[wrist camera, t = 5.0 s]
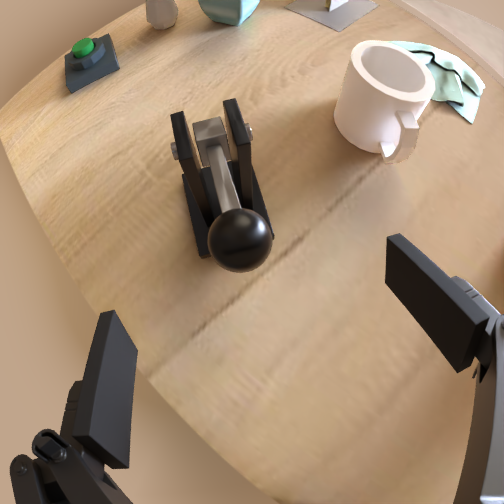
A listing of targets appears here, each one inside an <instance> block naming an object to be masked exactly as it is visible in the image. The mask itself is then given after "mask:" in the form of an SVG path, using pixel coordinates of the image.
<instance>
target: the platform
mask: <svg viewBox="0 0 504 504" xmlns="http://www.w3.org/2000/svg"><path fill="white" fill-rule="evenodd" d="M378 6H380V5H378V4H376V3H374V2H372V1H370V0H296V1H294V2H292V3H291V4H289V5H287V6H285V7H284V8H287V9H289V10H292V11H294V12H297V13H299V14H302V15H304V16H306V17H309V18H311V19H313V20H315V21H318V22H320V23H322V24H324V25H326V26H328V27H330V28H333V29H335V30H337V31H339V32H340V31H342V30H343V29H345V28H346V27H347V26H349V25H350V24H352V23H353V22H355V21H356V20H358V19H359V18H361V17H362V16H364V15H365V14H367V13H368V12H370V11H372V10H373V9H375V8H376V7H378Z"/></svg>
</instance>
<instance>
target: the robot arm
mask: <svg viewBox="0 0 504 504" xmlns="http://www.w3.org/2000/svg"><path fill="white" fill-rule="evenodd" d="M385 283H386V285H387V286H388V287H389V288H390V289H391V290H392V292H393V293H394V294H395V295H396V296H397V298H398V299H399V300H400V301H401V302H402V304H403V305H404V306H405V307H406V308H407V310H408V311H409V312H410V313H411V315H412V316H413V317H414V318H415V319H416V321H417V322H418V323H419V324H420V326H421V327H422V328H423V329H424V331H425V332H426V333H427V334H428V336H429V337H430V338H431V340H432V341H433V342H434V343H435V345H436V346H437V347H438V349H439V350H440V351H441V353H442V354H443V355H444V356H445V358H446V359H447V360H448V362H449V363H450V364H451V366H452V367H453V368H454V370H455V371H456V373H459V372H461V371H463V370H464V369H466V368H468V367H469V366H471V364H472V362H473V359H474V357H476V358H477V359H478V360H479V363H478V365H477V367H476V369H475V371H474V373H473V376H472V378H475V376H476V374H477V377H476V389H475V399H474V407H473V415H472V422H471V428H470V434H469V440H468V445H467V450H466V455H465V460H464V464H463V469H462V473H461V477H460V481H459V485H458V489H457V492H456V496H455V499H454V502H453V504H504V314H503V315H501V314H500V313H499V312H498V311H497V310H496V309H495V308H494V307H493V306H492V305H491V304H490V303H489V302H488V301H487V300H486V299H485V298H484V297H483V296H482V295H480V294H479V292H478V291H476V290H475V289H474V288H473V287H472V286H471V285H470V284H469V283H468V282H467V281H466V280H464V279H461V278H459V277H457V276H454V277H452V278H450V277H449V276H448V275H447V274H446V273H444V272H443V271H442V270H441V269H440V268H439V267H438V266H437V265H436V264H435V263H434V262H432V261H431V260H430V259H429V258H428V257H427V256H426V255H425V254H423V253H422V252H421V251H420V250H419V249H418V248H417V247H415V246H414V245H413V244H412V243H411V242H410V241H408V240H407V239H406V238H405V237H404V236H402V235H401V234H400V233H398V234H395V235H392V236H388V237H387V247H386V274H385ZM137 354H138V350H137V348H136V346H135V345H134V343H133V341H132V340H131V338H130V336H129V335H128V333H127V331H126V329H125V328H124V326H123V324H122V323H121V321H120V319H119V317H118V315H117V314H116V312H115V310H111V311H107V312H103V313H100V316H99V320H98V323H97V327H96V330H95V334H94V337H93V341H92V345H91V348H90V352H89V356H88V360H87V364H86V368H85V372H84V376H83V380H82V381H75V383H74V384H73V386H72V387H71V389H70V391H69V394H68V398H67V404H66V407H65V410H66V411H65V412H64V416H63V421H62V426H61V431H60V435H58V434H57V433H56V432H55V431H54V430H51V429H44V430H42V431H40V432H39V433H38V434H37V435H36V436H35V438H34V440H33V442H32V452H33V453H34V455H36V456H37V457H38V458H37V459H34V460H32V459H31V458H29V457H28V456H27V455H23V454H21V455H18V456H17V457H15V458H14V459H13V461H12V463H11V465H10V476H11V481H12V487H13V492H14V497H15V501H16V504H133V503H132V502H131V501H130V500H129V498H128V497H127V496H126V495H125V494H124V493H123V492H122V490H121V489H120V488H119V487H118V486H117V484H116V483H115V482H114V481H113V480H112V478H111V477H110V476H109V475H108V474H107V473H106V472H105V471H104V465H105V464H106V465H108V466H109V467H110V468H112V469H127V468H129V455H130V434H131V433H130V432H131V417H132V403H133V392H134V381H135V371H136V362H137Z"/></svg>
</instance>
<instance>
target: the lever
mask: <svg viewBox="0 0 504 504" xmlns="http://www.w3.org/2000/svg"><path fill="white" fill-rule="evenodd" d="M192 125H193V130H194V135H195V140H196V144H197V148H198V151H199V155H200V159H201V162H202V166H203V167H205V166H209V165H210V168H211V172H212V176H213V180H214V184H215V188H216V192H217V196H218V199H219V203H220V207H221V211H222V214H221V215H219V216H218V217H217V218H216V219H215V221H214V222H213V223H212V225H211V227H210V230H209V233H208V248H209V251H210V254H211V256H212V258H213V259H214V260H215V262H216V263H217V264H218V265H220V266H221V267H222V268H224V269H226V270H228V271H231V272H236V273H243V272H249V271H252V270H254V269H256V268H258V267H259V266H260V265H261V264H262V263H263V262H264V261H265V260H266V259H267V257H268V255H269V253H270V251H271V247H272V234H271V230H270V228H269V225H268V224H267V222H266V221H265V219H264V218H263V217H262V216H260V215H259V214H258V213H256V212H254V211H252V210H249V209H245V208H241V206H240V203H239V199H238V196H237V193H236V190H235V187H234V184H233V181H232V178H231V174H230V171H229V168H228V165H227V162H226V161H228V160H231V154H230V149H229V144H228V139H227V134H226V131H225V128H224V126H223V123H222V120H221V117H215V118H211V119H207V120H203V121H200V122H196V123H193V124H192Z"/></svg>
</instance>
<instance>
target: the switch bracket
mask: <svg viewBox="0 0 504 504" xmlns="http://www.w3.org/2000/svg"><path fill="white" fill-rule="evenodd" d="M223 107H224V114H225V121H226V128H227V135H228V142H229V149H230V154H231V161H229V162H227V165H228V168H229V171H230V174H231V178H232V181H233V184H234V187H235V190H236V193H237V196H238V199H239V203H240V206H241V208H245V209H249V210H252V211H254V212H256V213H258V214H259V215H260V216H262V217H263V218H264V219H265V221H266V222H267V224H268V225H269V228H270V230H271V234H272V240H274V233H273V230H272V226H271V223H270V220H269V217H268V213H267V210H266V207H265V204H264V201H263V197H262V194H261V191H260V188H259V185H258V182H257V179H256V175H255V172H254V169H253V166H252V162H251V141H252V140H253V137H252V131H251V128H250V125H249V123H246V124H244V121H243V118H242V115H241V112H240V109H239V106H238V104H237V101H236V99H235V98H234V99H230V100H225V101H223ZM170 116H171V122H172V127H173V133H174V138H175V142H172V143H171V150H172V154H173V157H174V159H175V160H178V159H179V163H180V165H181V167H182V170H183V172H184V174H182V179H183V183H184V188H185V193H186V198H187V203H188V207H189V212H190V216H191V221H192V226H193V230H194V234H195V239H196V243H197V248H198V252H199V256H200V257H201V259H203V258H207V257H210V256H211V254H210V251H209V248H208V233H209V230H210V227H211V225H212V223H213V222H214V221H215V219H216V218H217V217H218V216H219V215H221V214H222V211H221V207H220V203H219V199H218V196H217V192H216V188H215V184H214V180H213V176H212V172H211V168H210V167H206V168H202V169H201V167H200V164H199V160H198V157H197V154H196V151H195V148H194V144H193V141H192V138H191V135H190V132H189V128H188V125H187V122H186V119H185V115H184V112H183V111H181V112H177V113H174V114H171V115H170Z"/></svg>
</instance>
